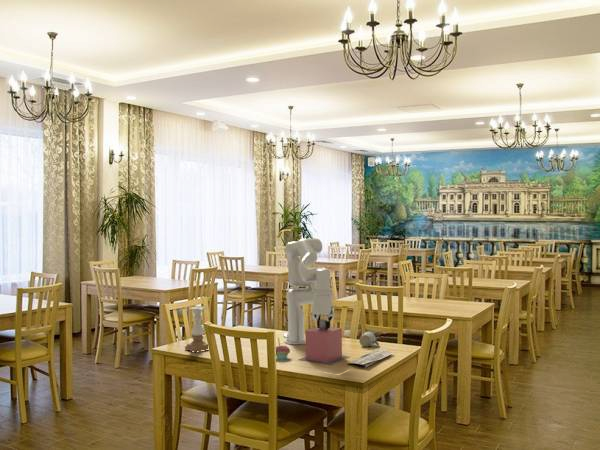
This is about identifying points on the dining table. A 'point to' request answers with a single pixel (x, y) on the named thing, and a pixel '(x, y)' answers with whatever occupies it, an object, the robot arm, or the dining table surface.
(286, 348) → the cupcake
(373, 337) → the ceramic mug
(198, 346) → the candle holder
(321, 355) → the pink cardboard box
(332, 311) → the robot arm
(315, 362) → the mat
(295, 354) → the dining table surface
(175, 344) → the dining table surface
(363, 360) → the newspaper
